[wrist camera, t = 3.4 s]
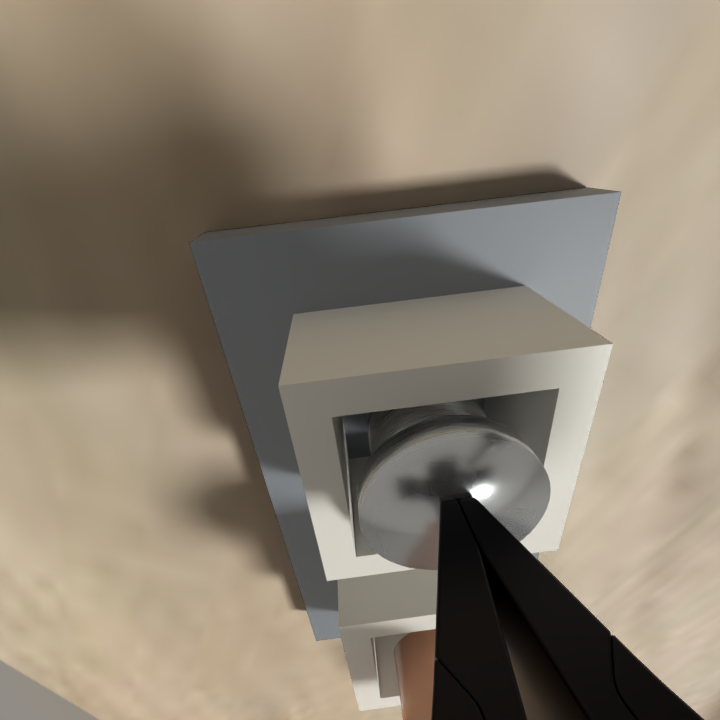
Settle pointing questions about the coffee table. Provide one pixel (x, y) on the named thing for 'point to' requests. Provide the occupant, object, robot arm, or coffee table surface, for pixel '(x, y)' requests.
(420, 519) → the plug metal
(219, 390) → the coffee table surface
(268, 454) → the board
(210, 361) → the coffee table surface
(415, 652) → the plug terracotta
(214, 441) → the coffee table surface
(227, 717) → the coffee table surface
